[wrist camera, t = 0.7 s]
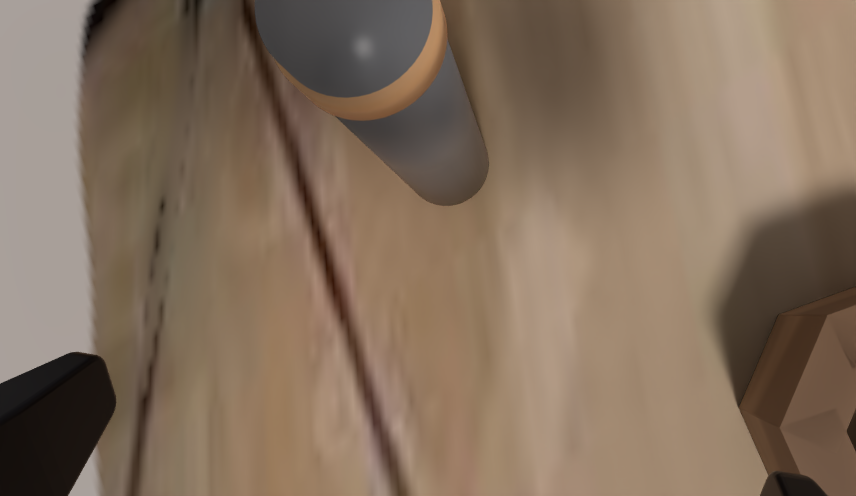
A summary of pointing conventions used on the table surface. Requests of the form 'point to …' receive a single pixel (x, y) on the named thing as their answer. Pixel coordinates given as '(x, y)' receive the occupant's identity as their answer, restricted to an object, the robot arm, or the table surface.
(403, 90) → the grey knob-topped cylinder
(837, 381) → the bead
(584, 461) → the table surface
